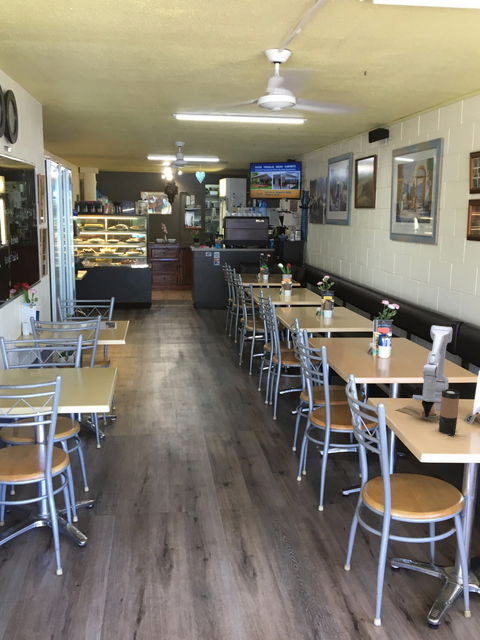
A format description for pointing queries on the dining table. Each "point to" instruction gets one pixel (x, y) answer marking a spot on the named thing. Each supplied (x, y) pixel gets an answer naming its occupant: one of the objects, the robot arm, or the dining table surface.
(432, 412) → the cylinder with stick handle
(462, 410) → the dining table surface
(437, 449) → the dining table surface
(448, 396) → the travel mug
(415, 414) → the board
